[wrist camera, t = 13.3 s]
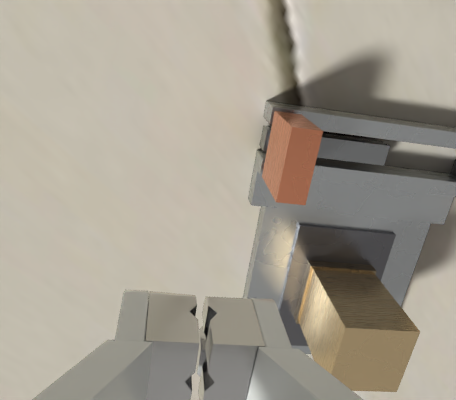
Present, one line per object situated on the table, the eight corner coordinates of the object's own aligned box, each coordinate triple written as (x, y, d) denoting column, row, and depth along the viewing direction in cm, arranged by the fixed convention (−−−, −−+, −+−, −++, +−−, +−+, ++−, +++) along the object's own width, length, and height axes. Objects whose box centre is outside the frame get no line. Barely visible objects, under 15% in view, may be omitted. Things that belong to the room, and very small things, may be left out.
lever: (387, 120, 28) (440, 146, 22) (370, 179, 29) (416, 216, 24) (267, 103, 27) (292, 126, 21) (256, 165, 28) (275, 202, 23)
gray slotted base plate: (479, 131, 29) (505, 140, 27) (398, 347, 36) (413, 370, 34) (266, 100, 27) (274, 108, 25) (221, 339, 34) (225, 362, 32)
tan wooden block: (371, 265, 31) (423, 329, 25) (354, 320, 33) (398, 393, 26) (307, 259, 30) (343, 325, 24) (293, 316, 32) (323, 391, 26)
